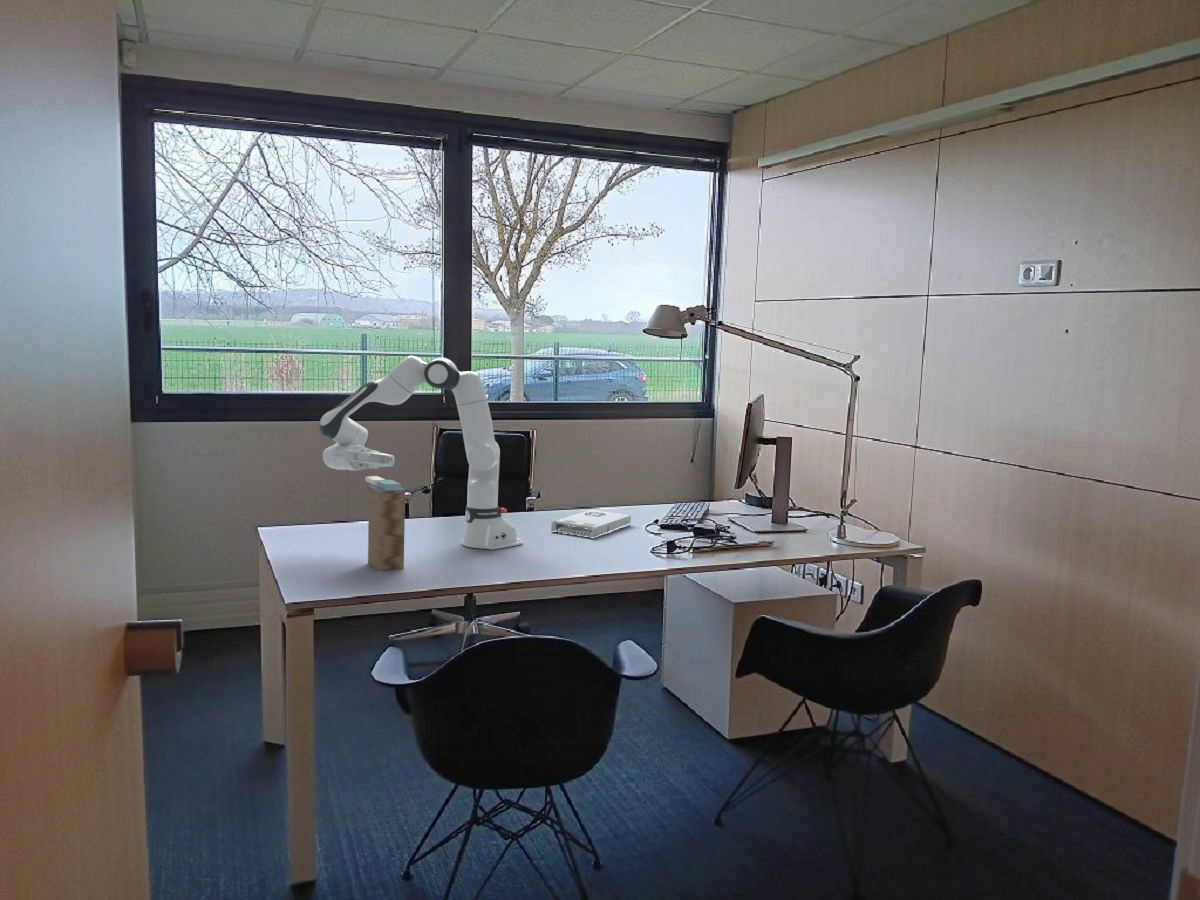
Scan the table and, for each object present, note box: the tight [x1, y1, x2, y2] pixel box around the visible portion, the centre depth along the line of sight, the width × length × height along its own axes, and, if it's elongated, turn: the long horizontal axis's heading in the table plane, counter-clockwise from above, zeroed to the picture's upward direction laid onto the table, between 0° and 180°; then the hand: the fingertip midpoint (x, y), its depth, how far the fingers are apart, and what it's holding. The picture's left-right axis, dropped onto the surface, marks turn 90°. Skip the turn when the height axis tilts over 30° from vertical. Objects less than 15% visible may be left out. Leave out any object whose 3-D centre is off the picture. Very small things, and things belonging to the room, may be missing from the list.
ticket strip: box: [365, 475, 402, 491], centre depth 289 cm, size 5×20×2 cm, turn 34°
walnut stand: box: [367, 484, 408, 572], centre depth 287 cm, size 9×11×26 cm
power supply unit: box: [550, 509, 632, 537], centre depth 359 cm, size 19×33×5 cm, turn 151°
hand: (380, 458), depth 300 cm, fingers open, 8 cm apart
